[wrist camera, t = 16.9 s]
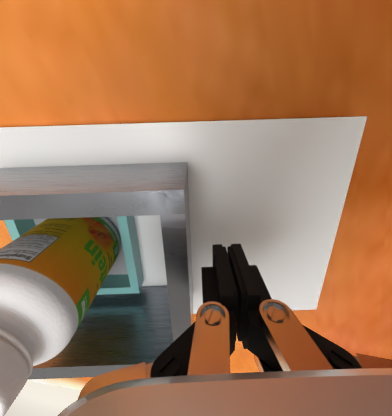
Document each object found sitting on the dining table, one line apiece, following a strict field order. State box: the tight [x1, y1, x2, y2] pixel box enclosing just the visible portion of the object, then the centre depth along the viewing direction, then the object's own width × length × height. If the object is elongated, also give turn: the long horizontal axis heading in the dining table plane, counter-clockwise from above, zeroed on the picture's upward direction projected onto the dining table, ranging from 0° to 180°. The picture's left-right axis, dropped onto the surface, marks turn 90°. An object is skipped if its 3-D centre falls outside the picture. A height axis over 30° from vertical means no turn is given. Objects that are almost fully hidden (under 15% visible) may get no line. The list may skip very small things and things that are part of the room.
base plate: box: [0, 116, 367, 314], centre depth 15 cm, size 24×16×3 cm, turn 92°
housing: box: [0, 162, 193, 379], centre depth 13 cm, size 12×11×6 cm
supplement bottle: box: [0, 217, 120, 416], centre depth 11 cm, size 5×5×10 cm
